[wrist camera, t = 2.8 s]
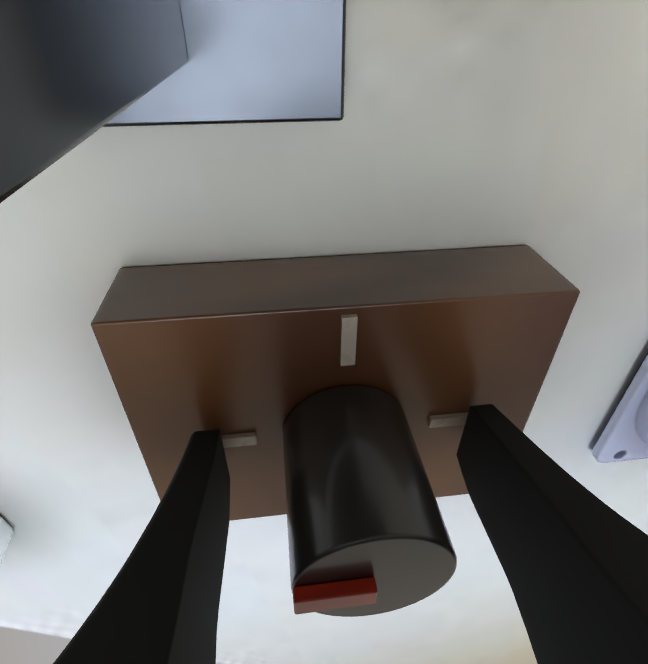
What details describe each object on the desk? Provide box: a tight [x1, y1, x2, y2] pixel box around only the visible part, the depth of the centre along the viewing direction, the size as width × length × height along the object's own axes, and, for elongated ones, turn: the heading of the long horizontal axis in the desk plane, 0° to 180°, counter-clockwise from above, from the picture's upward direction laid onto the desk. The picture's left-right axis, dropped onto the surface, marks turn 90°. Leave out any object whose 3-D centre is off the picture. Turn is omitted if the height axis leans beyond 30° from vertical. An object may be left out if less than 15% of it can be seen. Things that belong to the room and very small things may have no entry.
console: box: [91, 245, 580, 521], centre depth 13 cm, size 11×8×3 cm
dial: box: [283, 385, 457, 617], centre depth 10 cm, size 3×3×4 cm
